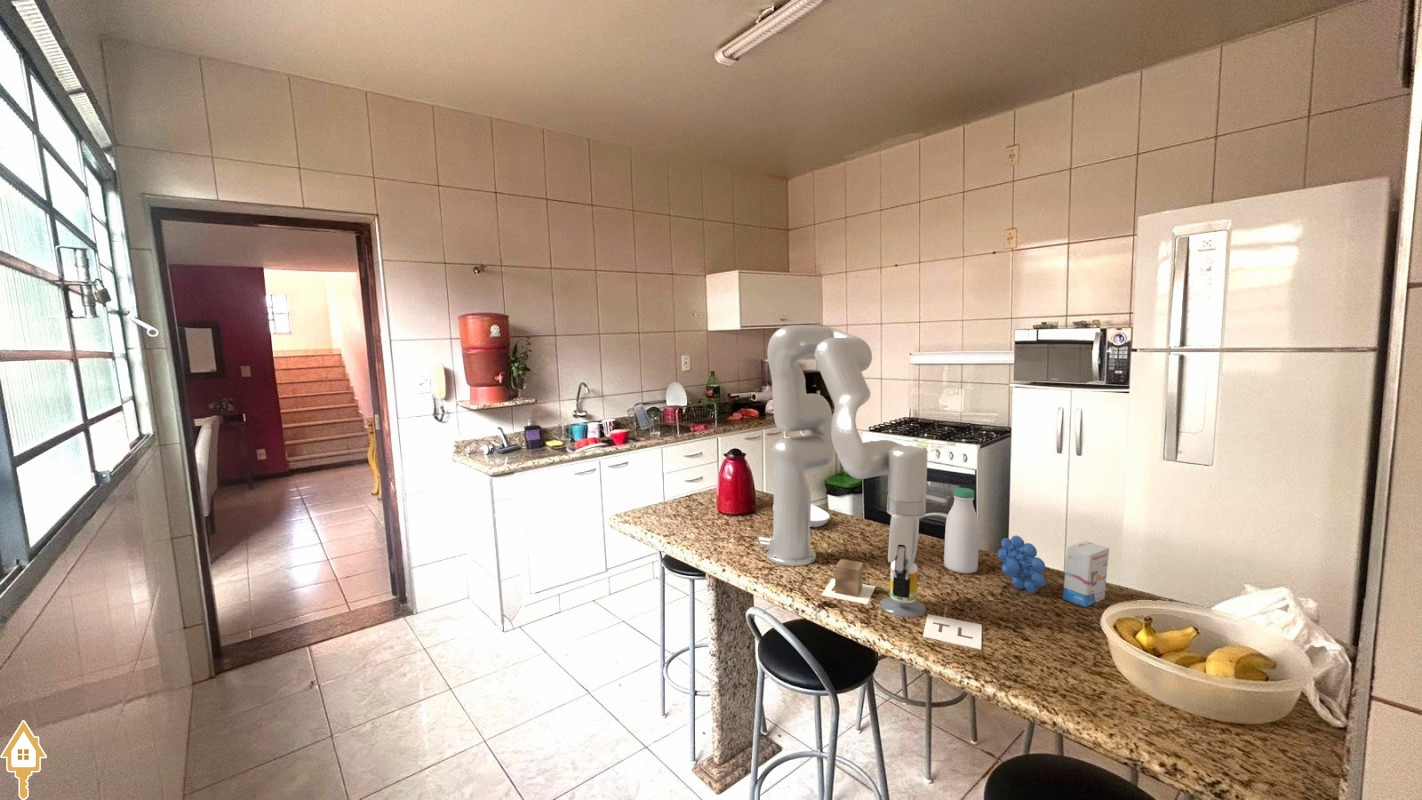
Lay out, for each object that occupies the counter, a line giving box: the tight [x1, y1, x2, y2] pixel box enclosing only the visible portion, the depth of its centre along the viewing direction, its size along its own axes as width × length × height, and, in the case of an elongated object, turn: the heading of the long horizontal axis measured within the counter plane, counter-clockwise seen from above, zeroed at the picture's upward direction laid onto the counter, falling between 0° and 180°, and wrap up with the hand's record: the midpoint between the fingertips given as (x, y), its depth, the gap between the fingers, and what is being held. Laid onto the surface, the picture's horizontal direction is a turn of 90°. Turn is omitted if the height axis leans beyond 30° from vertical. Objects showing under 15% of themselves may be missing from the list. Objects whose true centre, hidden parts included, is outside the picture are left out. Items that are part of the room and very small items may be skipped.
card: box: [922, 613, 983, 651], centre depth 109 cm, size 10×10×1 cm
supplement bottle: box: [889, 550, 919, 603], centre depth 118 cm, size 5×5×10 cm
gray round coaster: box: [880, 596, 927, 618], centre depth 119 cm, size 9×9×1 cm
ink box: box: [1062, 540, 1110, 608], centre depth 122 cm, size 9×5×12 cm, turn 122°
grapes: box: [996, 535, 1047, 594], centre depth 127 cm, size 12×7×12 cm, turn 25°
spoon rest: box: [772, 503, 831, 528], centre depth 179 cm, size 24×12×7 cm, turn 28°
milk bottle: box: [943, 487, 980, 574], centre depth 139 cm, size 8×8×20 cm
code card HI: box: [820, 578, 876, 605], centre depth 126 cm, size 10×10×1 cm
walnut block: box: [834, 558, 864, 597], centre depth 126 cm, size 5×5×6 cm
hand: (903, 589), depth 118 cm, fingers closed on supplement bottle, 5 cm apart
